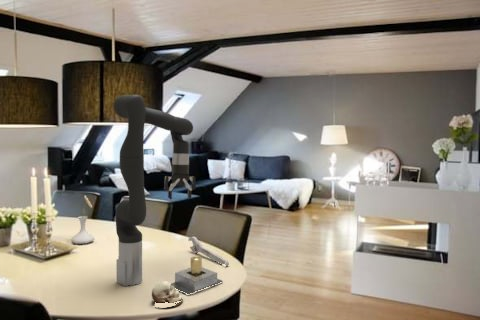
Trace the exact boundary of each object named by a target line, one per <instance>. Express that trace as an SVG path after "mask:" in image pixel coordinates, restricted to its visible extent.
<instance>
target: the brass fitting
mask: <svg viewBox="0 0 480 320" xmlns="http://www.w3.org/2000/svg"><path fill="white" fill-rule="evenodd" d="M202 262H203V258H202V257H201V256H192V257H190V268H191V275H192V276H195V277H197V276H200V275H202V264H203V263H202Z"/></svg>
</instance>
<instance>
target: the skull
mask: <svg viewBox="0 0 480 320" xmlns="http://www.w3.org/2000/svg"><path fill="white" fill-rule="evenodd" d="M171 284H172V283H171V282H169V281H166V280H162V281H160V282H158V283H157V284H155V286H154V287H152V289H151V299H152V300H153V301H154V303H155V302H156V303H165V302H168V303H174V302H177V301H181V300H182V301H181V302H179V303H177V304H176V303H175V304H176V306H175V307H177V306H179V305H180V304H182V302H183V301H184V298H183V296H182V295H181V294H180V292H179V291H178V290H176V289H175V287H174V286H171ZM182 298H183V299H182Z"/></svg>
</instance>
